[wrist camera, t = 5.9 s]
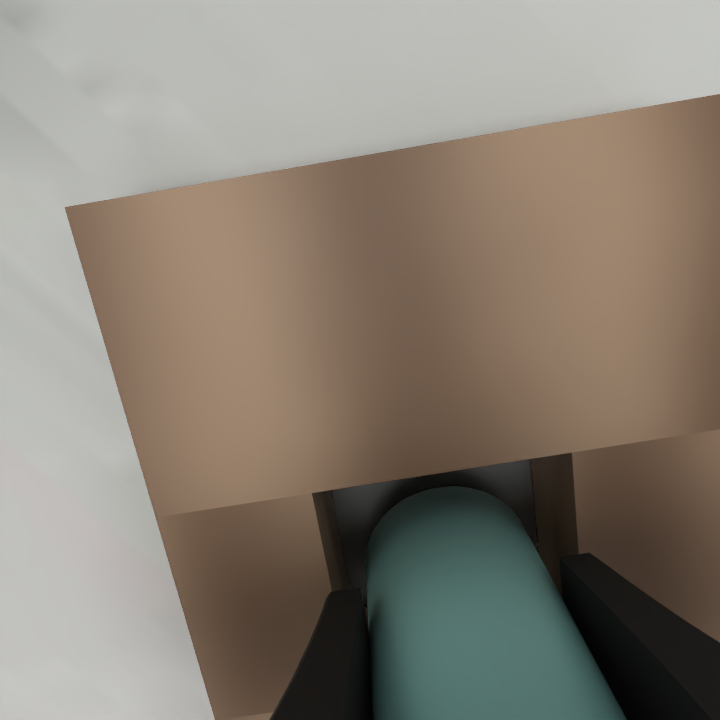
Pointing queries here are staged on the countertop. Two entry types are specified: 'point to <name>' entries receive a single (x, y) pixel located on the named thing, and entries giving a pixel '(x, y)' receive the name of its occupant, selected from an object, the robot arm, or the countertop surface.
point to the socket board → (421, 361)
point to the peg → (472, 619)
